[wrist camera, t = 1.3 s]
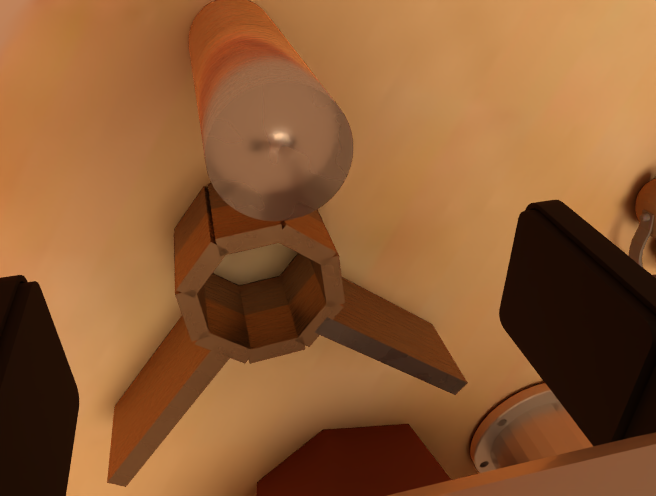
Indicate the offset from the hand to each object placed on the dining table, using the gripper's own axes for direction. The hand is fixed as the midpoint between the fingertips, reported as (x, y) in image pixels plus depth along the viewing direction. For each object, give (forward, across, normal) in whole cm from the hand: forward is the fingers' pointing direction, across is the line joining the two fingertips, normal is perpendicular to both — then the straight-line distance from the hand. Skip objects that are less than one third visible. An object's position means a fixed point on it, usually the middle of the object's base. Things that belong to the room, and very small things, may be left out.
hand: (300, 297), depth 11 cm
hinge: (+20, -2, +20) cm, 28 cm away
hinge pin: (+21, -1, 0) cm, 21 cm away
